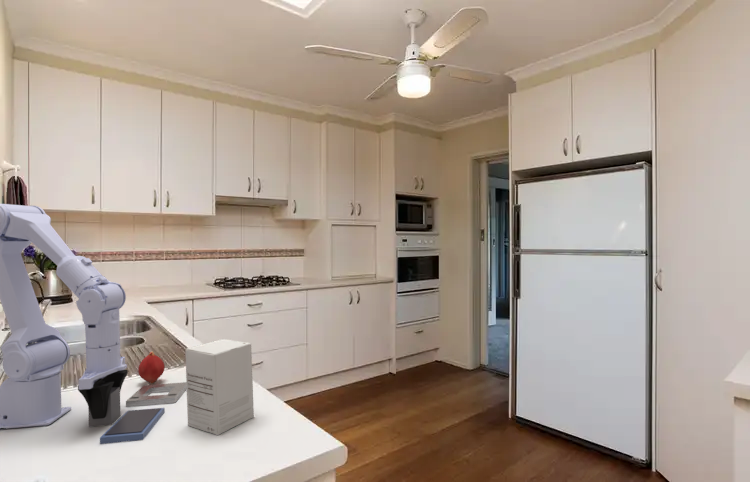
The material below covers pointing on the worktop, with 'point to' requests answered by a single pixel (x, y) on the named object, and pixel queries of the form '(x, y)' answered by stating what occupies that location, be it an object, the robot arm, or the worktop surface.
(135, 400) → the plate
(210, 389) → the supplement box
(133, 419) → the phone
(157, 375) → the onion
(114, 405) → the block
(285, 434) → the worktop surface
